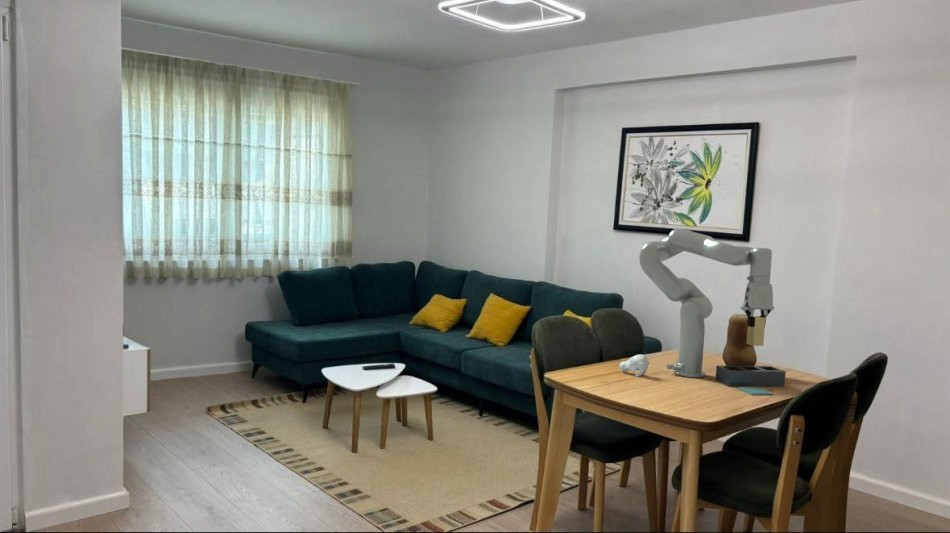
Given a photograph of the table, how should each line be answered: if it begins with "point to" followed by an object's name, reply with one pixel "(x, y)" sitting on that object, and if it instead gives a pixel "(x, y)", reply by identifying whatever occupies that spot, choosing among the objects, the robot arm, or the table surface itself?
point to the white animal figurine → (635, 365)
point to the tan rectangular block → (756, 332)
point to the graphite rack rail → (750, 376)
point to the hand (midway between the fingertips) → (756, 325)
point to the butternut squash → (738, 343)
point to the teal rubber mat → (755, 391)
